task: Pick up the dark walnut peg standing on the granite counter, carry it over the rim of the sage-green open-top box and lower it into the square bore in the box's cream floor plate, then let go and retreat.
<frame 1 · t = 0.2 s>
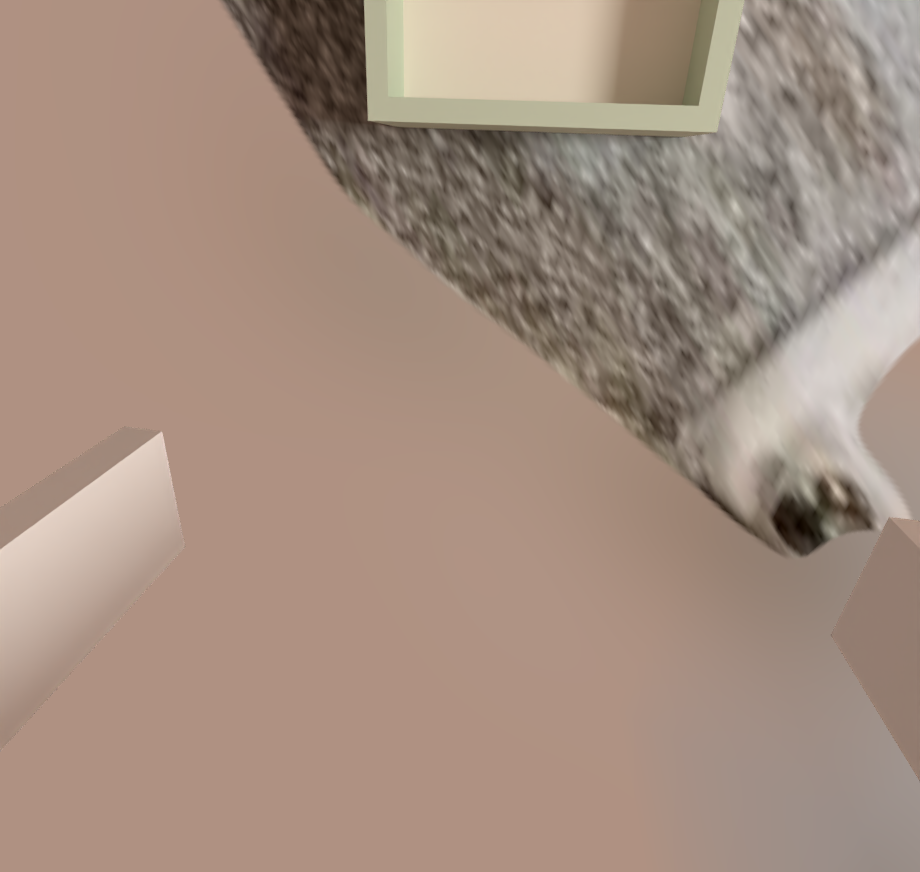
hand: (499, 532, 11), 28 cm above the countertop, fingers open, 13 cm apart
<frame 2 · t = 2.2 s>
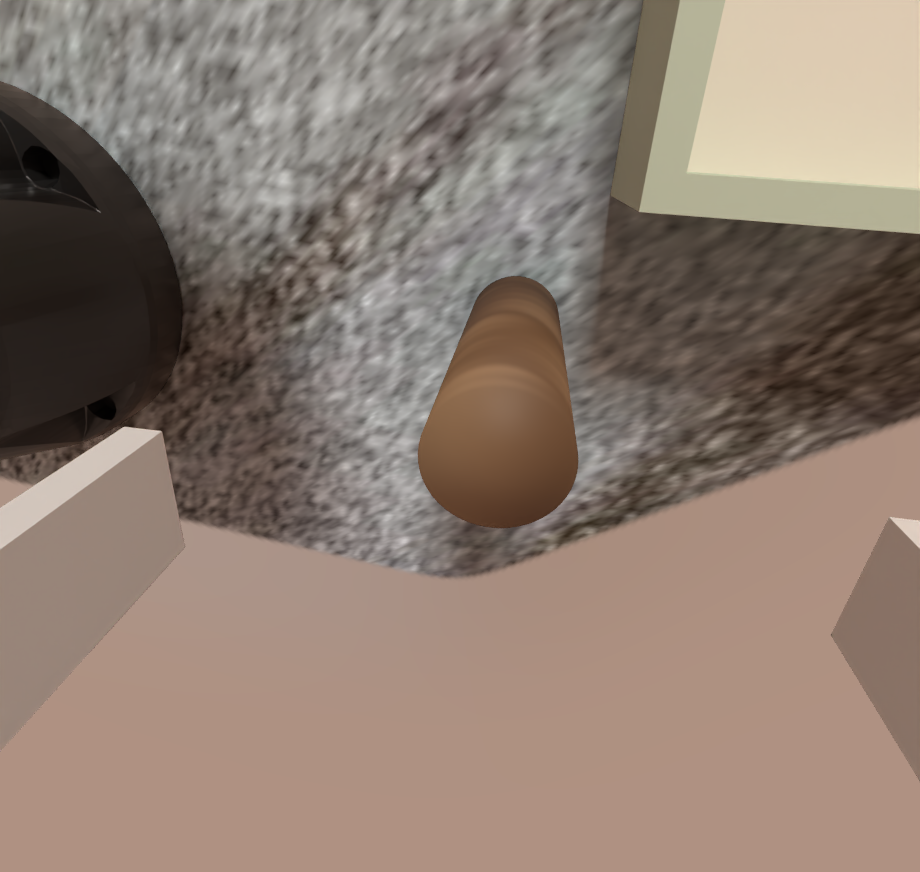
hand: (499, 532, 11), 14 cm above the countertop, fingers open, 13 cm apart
peg: (514, 320, 23), on the countertop
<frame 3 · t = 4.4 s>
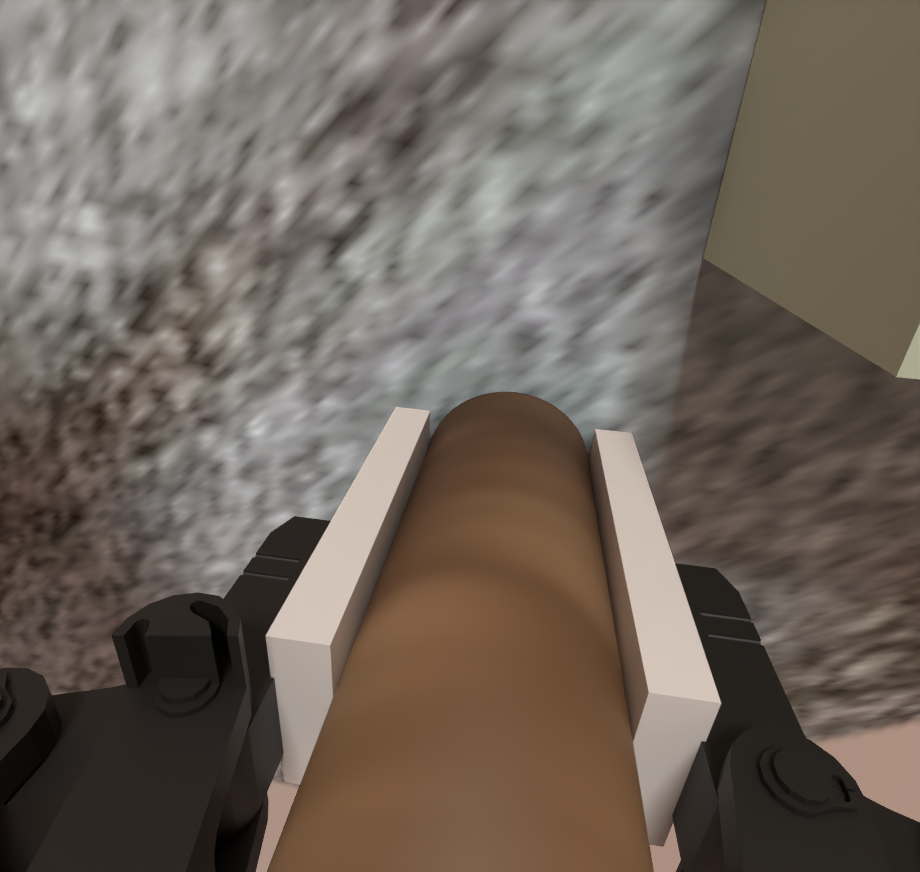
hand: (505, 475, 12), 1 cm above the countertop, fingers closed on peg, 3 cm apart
peg: (506, 466, 13), on the countertop, touching gripper
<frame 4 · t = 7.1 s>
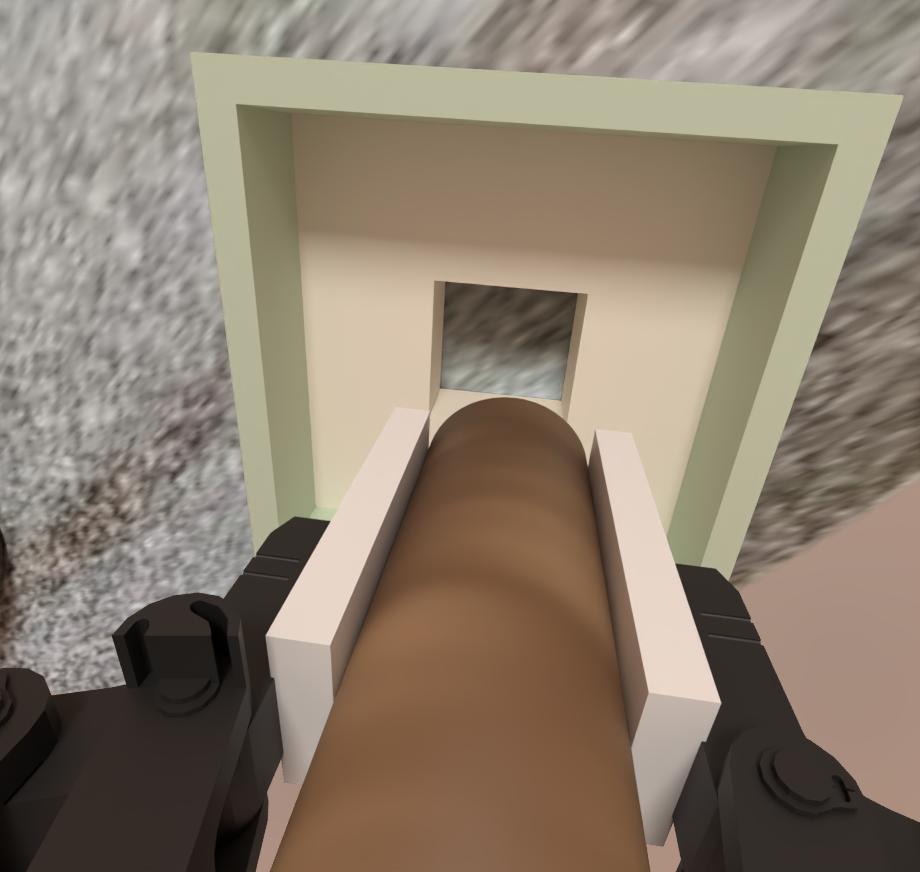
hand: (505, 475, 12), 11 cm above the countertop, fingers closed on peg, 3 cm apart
peg box: (506, 335, 22), on the countertop
peg: (505, 471, 13), point 11 cm above the countertop, touching gripper
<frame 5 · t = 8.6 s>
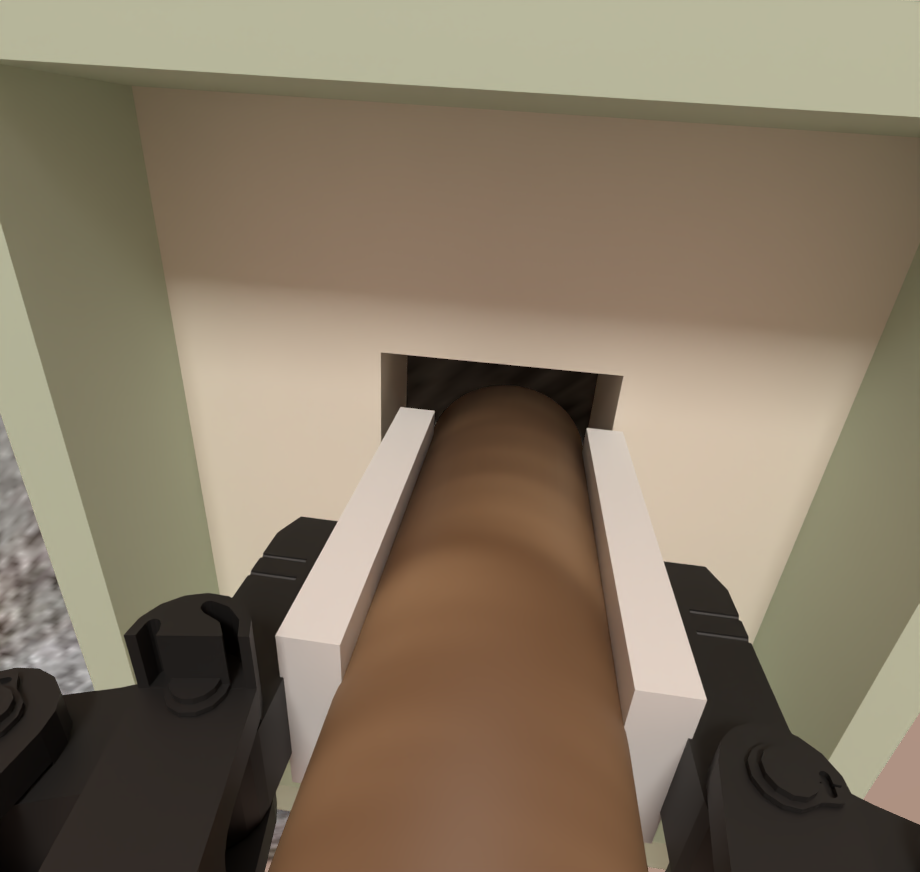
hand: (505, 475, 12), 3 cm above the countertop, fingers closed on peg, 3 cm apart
peg box: (496, 413, 15), on the countertop
peg: (505, 456, 13), point 2 cm above the countertop, touching gripper
when the fingers open (3 cm above the countertop, at t = 9.8 s): peg drops 2 cm, on the countertop.
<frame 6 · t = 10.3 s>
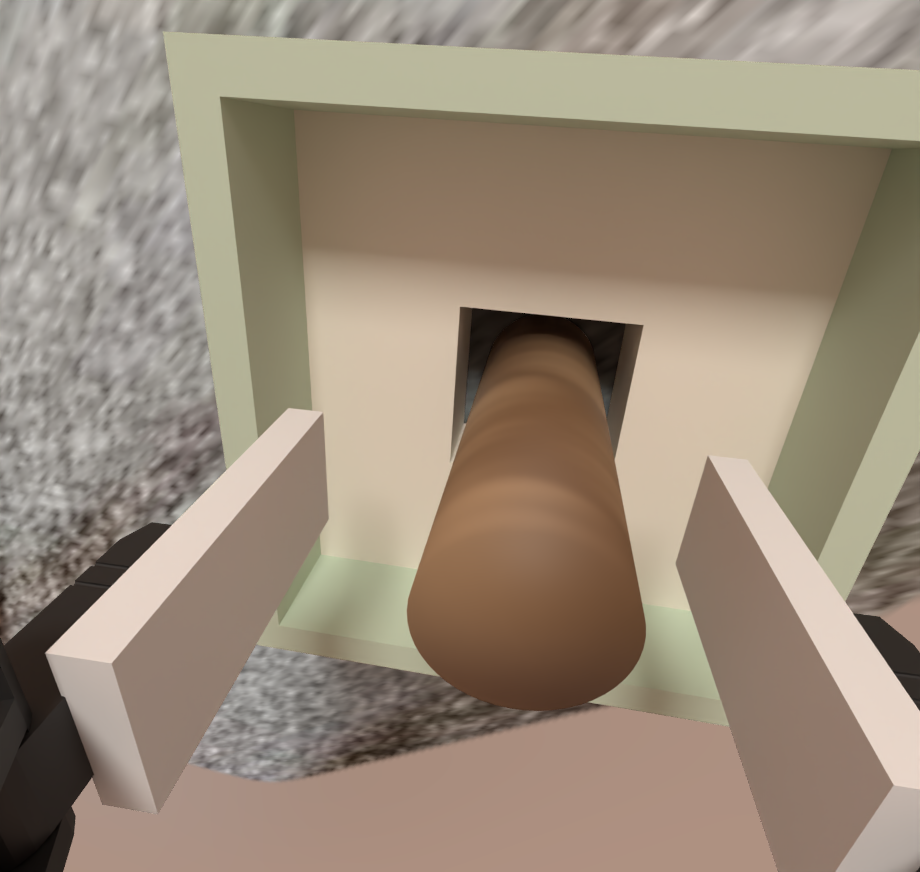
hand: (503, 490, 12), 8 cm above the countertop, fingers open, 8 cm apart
peg box: (541, 366, 19), on the countertop
peg: (540, 366, 19), on the countertop
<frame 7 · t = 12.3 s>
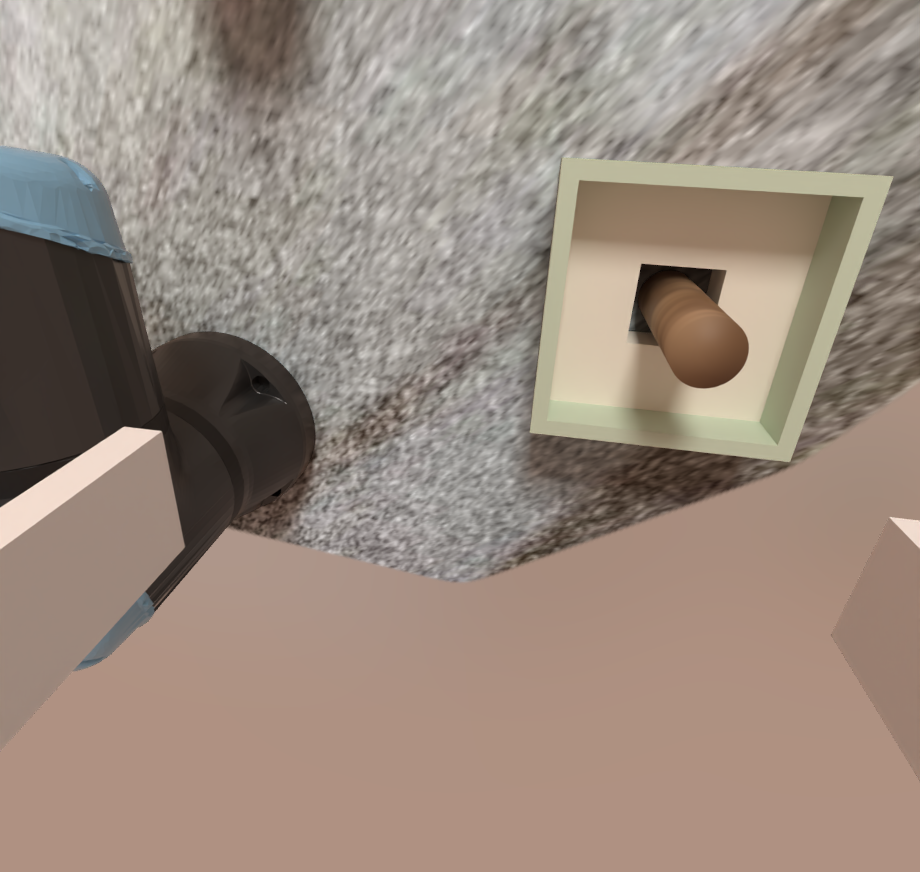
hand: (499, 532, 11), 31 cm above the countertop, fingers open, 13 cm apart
peg box: (666, 297, 38), on the countertop
peg: (666, 297, 38), on the countertop
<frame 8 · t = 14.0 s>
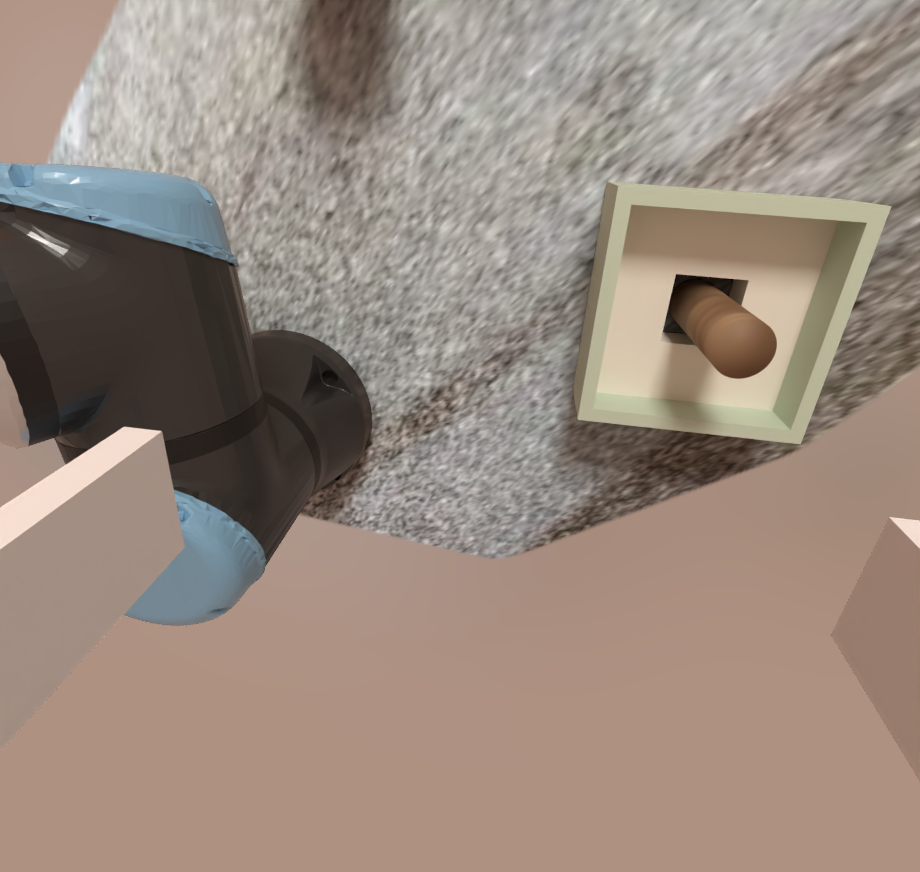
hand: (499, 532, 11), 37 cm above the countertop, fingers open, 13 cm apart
peg box: (693, 302, 43), on the countertop
peg: (692, 302, 43), on the countertop
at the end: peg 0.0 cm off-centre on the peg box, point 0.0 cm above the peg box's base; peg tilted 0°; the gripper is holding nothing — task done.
